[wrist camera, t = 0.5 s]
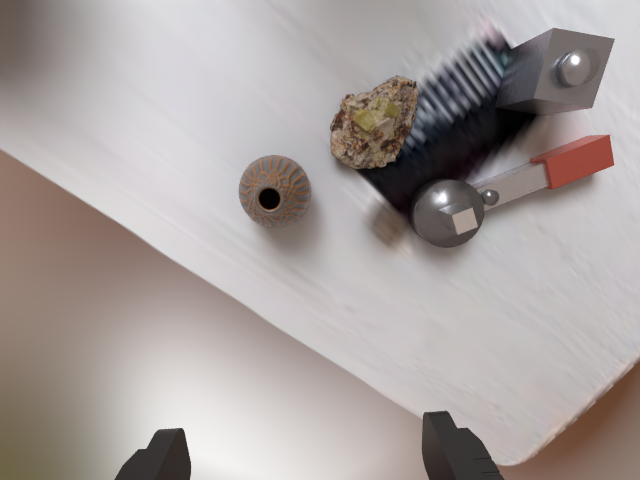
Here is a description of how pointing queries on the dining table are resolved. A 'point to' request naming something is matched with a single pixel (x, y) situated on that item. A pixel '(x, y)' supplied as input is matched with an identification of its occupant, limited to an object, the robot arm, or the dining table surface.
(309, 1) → the dining table surface
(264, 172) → the vase
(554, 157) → the ratchet
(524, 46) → the domed steel cube
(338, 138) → the mineral rock
